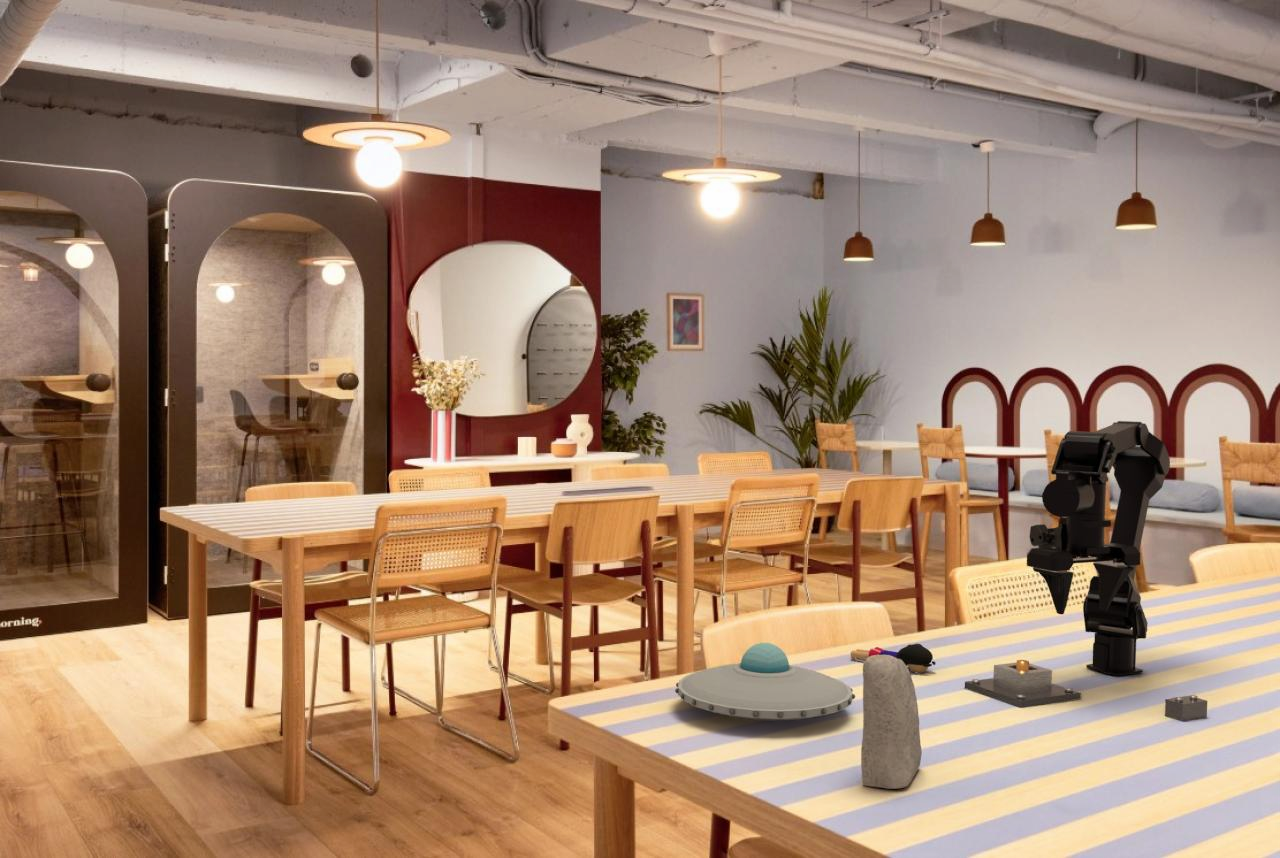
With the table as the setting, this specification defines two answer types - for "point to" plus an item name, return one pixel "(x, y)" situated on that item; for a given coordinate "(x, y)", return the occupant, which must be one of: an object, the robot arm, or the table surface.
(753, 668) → the toy
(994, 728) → the table surface
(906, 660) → the toy
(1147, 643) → the table surface
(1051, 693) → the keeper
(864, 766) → the decorative stone
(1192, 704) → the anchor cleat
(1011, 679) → the socket
